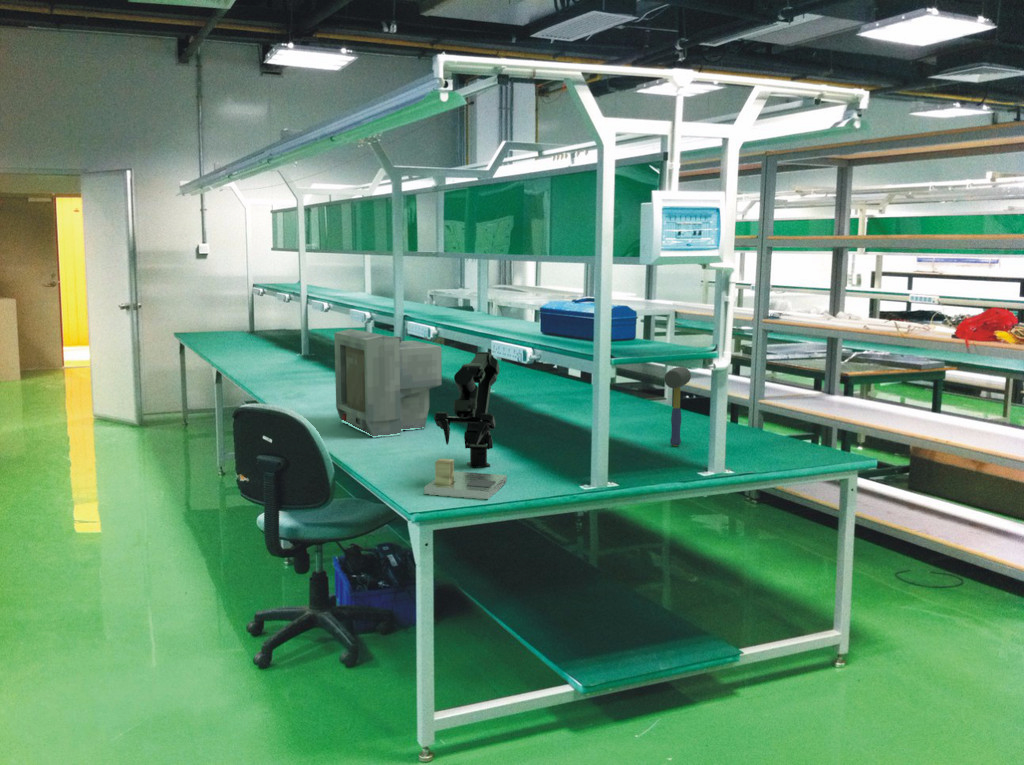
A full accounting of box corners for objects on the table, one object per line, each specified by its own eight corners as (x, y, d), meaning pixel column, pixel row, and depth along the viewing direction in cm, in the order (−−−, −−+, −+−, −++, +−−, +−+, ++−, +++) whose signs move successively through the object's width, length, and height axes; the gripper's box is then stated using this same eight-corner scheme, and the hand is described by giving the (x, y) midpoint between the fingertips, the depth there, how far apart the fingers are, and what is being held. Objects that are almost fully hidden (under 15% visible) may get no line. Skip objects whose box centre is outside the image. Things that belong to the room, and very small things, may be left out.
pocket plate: (446, 478, 279) (446, 469, 278) (506, 482, 273) (506, 474, 273) (424, 494, 259) (424, 485, 259) (488, 499, 254) (488, 490, 254)
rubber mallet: (671, 441, 335) (673, 365, 331) (689, 444, 332) (692, 366, 327) (660, 448, 324) (663, 368, 320) (679, 450, 321) (682, 370, 316)
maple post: (440, 488, 266) (440, 458, 265) (454, 489, 265) (453, 459, 264) (435, 492, 262) (435, 461, 261) (449, 493, 261) (449, 462, 259)
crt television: (335, 423, 369) (333, 329, 363) (414, 415, 388) (413, 326, 382) (369, 439, 336) (367, 337, 330) (453, 430, 355) (452, 333, 349)
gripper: (434, 387, 271) (426, 432, 263) (492, 389, 268) (487, 434, 260) (441, 403, 280) (434, 447, 273) (497, 405, 277) (492, 450, 270)
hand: (461, 444), depth 269 cm, fingers open, 9 cm apart
